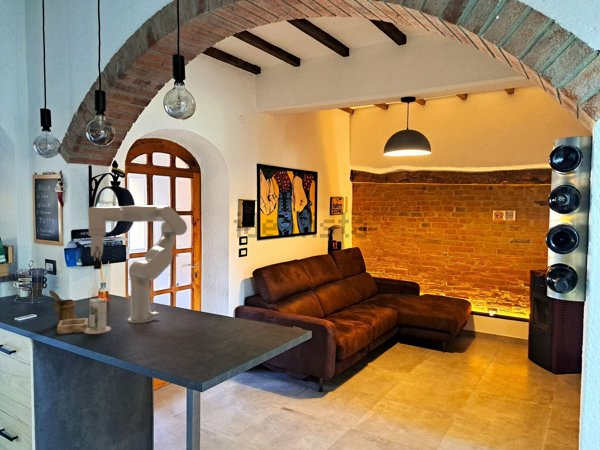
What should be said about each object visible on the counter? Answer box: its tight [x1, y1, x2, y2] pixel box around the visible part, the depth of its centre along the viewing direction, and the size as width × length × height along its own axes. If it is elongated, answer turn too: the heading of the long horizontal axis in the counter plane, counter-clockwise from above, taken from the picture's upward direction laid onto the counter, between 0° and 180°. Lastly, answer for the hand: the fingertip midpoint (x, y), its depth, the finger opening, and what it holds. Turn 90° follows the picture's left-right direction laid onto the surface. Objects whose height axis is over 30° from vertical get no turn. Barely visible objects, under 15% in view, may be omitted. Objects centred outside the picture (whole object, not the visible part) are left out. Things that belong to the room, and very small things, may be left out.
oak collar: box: [56, 317, 89, 335], centre depth 212 cm, size 12×12×4 cm
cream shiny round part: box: [83, 325, 112, 335], centre depth 211 cm, size 12×12×1 cm
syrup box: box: [88, 297, 107, 331], centre depth 211 cm, size 6×6×14 cm
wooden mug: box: [49, 289, 78, 325], centre depth 222 cm, size 9×14×18 cm, turn 149°
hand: (97, 267), depth 211 cm, fingers open, 9 cm apart
